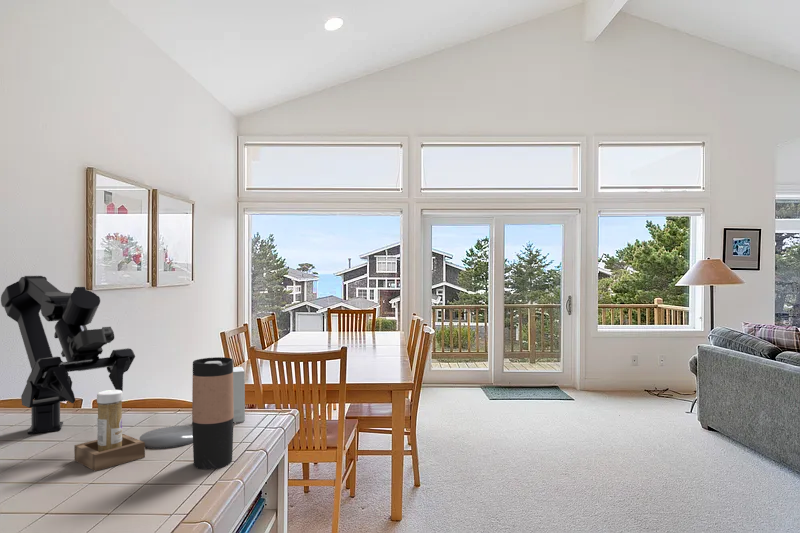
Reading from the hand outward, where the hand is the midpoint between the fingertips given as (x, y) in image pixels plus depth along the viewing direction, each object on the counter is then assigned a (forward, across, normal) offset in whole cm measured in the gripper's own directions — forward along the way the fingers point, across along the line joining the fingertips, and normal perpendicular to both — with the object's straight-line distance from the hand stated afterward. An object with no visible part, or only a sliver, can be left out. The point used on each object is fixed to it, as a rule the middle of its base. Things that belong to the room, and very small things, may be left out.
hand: (98, 397), depth 110 cm
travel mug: (+25, +11, -8) cm, 29 cm away
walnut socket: (+12, 0, +4) cm, 13 cm away
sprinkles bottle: (+12, 0, +5) cm, 13 cm away
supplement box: (+8, +31, +8) cm, 33 cm away
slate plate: (+10, +14, +6) cm, 19 cm away
